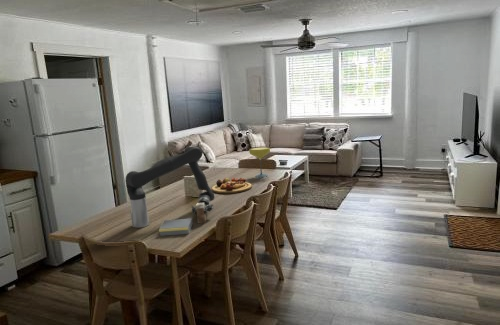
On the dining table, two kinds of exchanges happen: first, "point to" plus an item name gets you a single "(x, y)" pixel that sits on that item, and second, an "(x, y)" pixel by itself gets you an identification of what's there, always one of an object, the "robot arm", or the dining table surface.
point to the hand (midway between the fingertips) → (200, 212)
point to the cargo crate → (200, 212)
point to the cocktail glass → (259, 155)
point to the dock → (175, 227)
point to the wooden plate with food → (231, 186)
